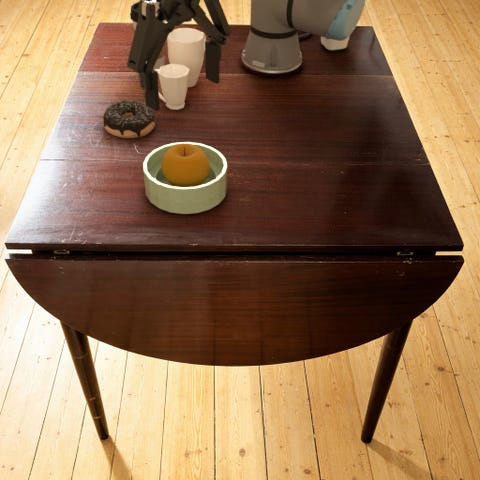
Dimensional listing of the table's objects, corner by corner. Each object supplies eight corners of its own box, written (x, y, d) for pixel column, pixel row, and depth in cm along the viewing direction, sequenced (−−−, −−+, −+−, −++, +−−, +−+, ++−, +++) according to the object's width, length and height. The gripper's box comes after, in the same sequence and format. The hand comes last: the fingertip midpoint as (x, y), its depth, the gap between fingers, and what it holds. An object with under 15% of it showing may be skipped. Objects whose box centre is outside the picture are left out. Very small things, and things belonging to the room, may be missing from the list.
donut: (101, 140, 128) (99, 123, 125) (107, 112, 136) (105, 95, 133) (154, 141, 129) (153, 123, 126) (157, 112, 137) (156, 95, 134)
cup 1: (179, 115, 136) (177, 80, 130) (143, 103, 139) (140, 68, 133) (196, 102, 140) (196, 68, 134) (161, 91, 143) (158, 57, 138)
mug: (192, 95, 143) (190, 45, 134) (162, 85, 145) (159, 37, 137) (218, 75, 150) (219, 27, 141) (190, 66, 152) (189, 19, 144)
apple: (160, 177, 119) (157, 135, 112) (205, 173, 120) (205, 132, 114) (165, 205, 113) (162, 163, 106) (213, 200, 114) (213, 158, 108)
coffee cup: (175, 71, 151) (172, 7, 140) (145, 79, 147) (139, 14, 136) (159, 58, 155) (154, -5, 144) (129, 65, 152) (122, 2, 141)
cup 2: (351, 51, 161) (361, -10, 150) (326, 54, 160) (334, -7, 149) (340, 39, 166) (348, -20, 155) (315, 42, 164) (322, -17, 153)
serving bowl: (189, 159, 124) (188, 133, 120) (243, 192, 117) (244, 165, 113) (129, 190, 117) (125, 163, 112) (182, 227, 109) (181, 200, 105)
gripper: (124, -16, 80) (140, 128, 96) (255, -58, 93) (250, 77, 108) (90, -32, 84) (111, 111, 100) (220, -69, 96) (220, 63, 112)
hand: (183, 93), depth 104 cm, fingers open, 13 cm apart
